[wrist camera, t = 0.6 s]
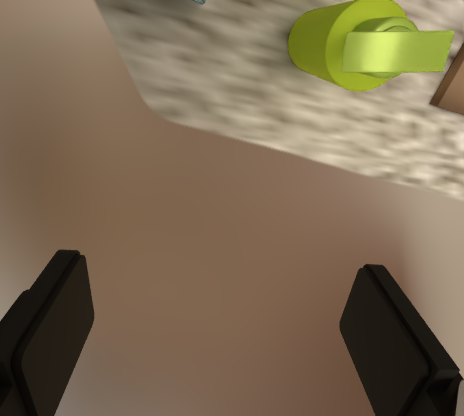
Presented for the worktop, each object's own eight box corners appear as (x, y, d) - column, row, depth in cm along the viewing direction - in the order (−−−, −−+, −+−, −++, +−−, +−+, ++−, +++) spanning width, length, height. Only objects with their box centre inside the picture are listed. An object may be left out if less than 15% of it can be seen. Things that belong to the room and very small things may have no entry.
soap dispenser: (279, 9, 32) (357, -19, 14) (347, 9, 32) (505, -20, 15) (276, 72, 35) (337, 113, 17) (338, 71, 35) (461, 111, 18)
